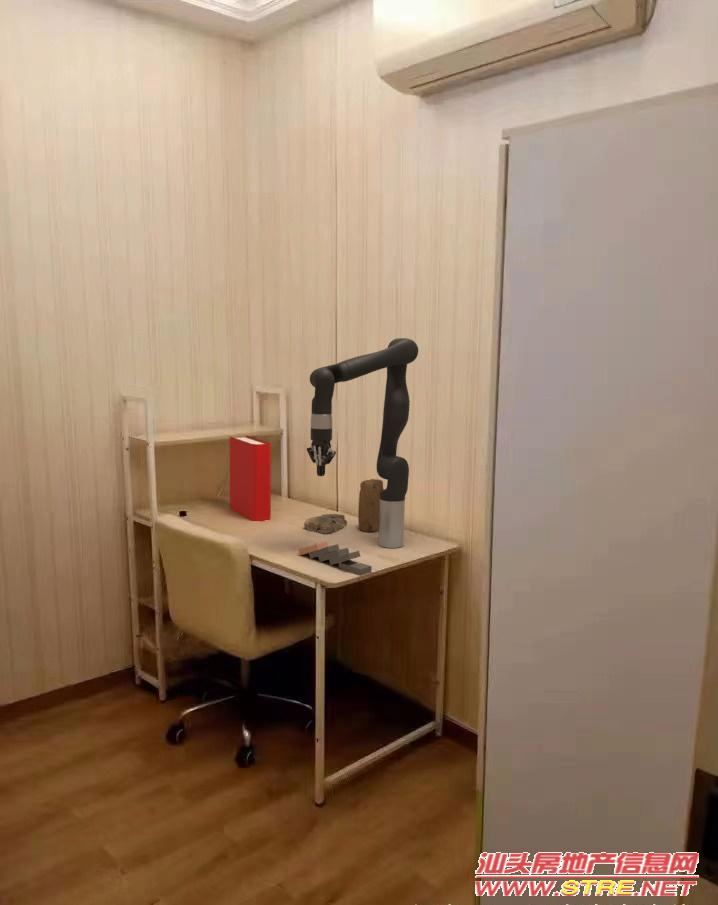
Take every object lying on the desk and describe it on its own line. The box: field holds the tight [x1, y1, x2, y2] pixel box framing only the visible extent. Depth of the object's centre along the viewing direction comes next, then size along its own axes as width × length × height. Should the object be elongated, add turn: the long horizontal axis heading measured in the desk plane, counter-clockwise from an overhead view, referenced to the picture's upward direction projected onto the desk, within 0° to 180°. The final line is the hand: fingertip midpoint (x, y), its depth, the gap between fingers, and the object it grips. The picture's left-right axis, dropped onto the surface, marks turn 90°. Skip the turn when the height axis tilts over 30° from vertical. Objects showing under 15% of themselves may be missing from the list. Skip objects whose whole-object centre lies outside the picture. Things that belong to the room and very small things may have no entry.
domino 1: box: [298, 541, 329, 556], centre depth 253 cm, size 2×5×10 cm
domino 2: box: [308, 543, 341, 560], centre depth 249 cm, size 2×5×10 cm
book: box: [229, 435, 272, 522], centre depth 310 cm, size 27×8×32 cm, turn 31°
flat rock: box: [303, 513, 348, 535], centre depth 294 cm, size 14×5×20 cm
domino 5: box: [338, 559, 372, 576], centre depth 239 cm, size 2×5×10 cm
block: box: [357, 478, 384, 533], centre depth 290 cm, size 11×8×20 cm
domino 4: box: [329, 550, 361, 566], centre depth 242 cm, size 2×5×10 cm
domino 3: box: [317, 547, 350, 563], centre depth 246 cm, size 2×5×10 cm
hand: (320, 475), depth 257 cm, fingers closed
